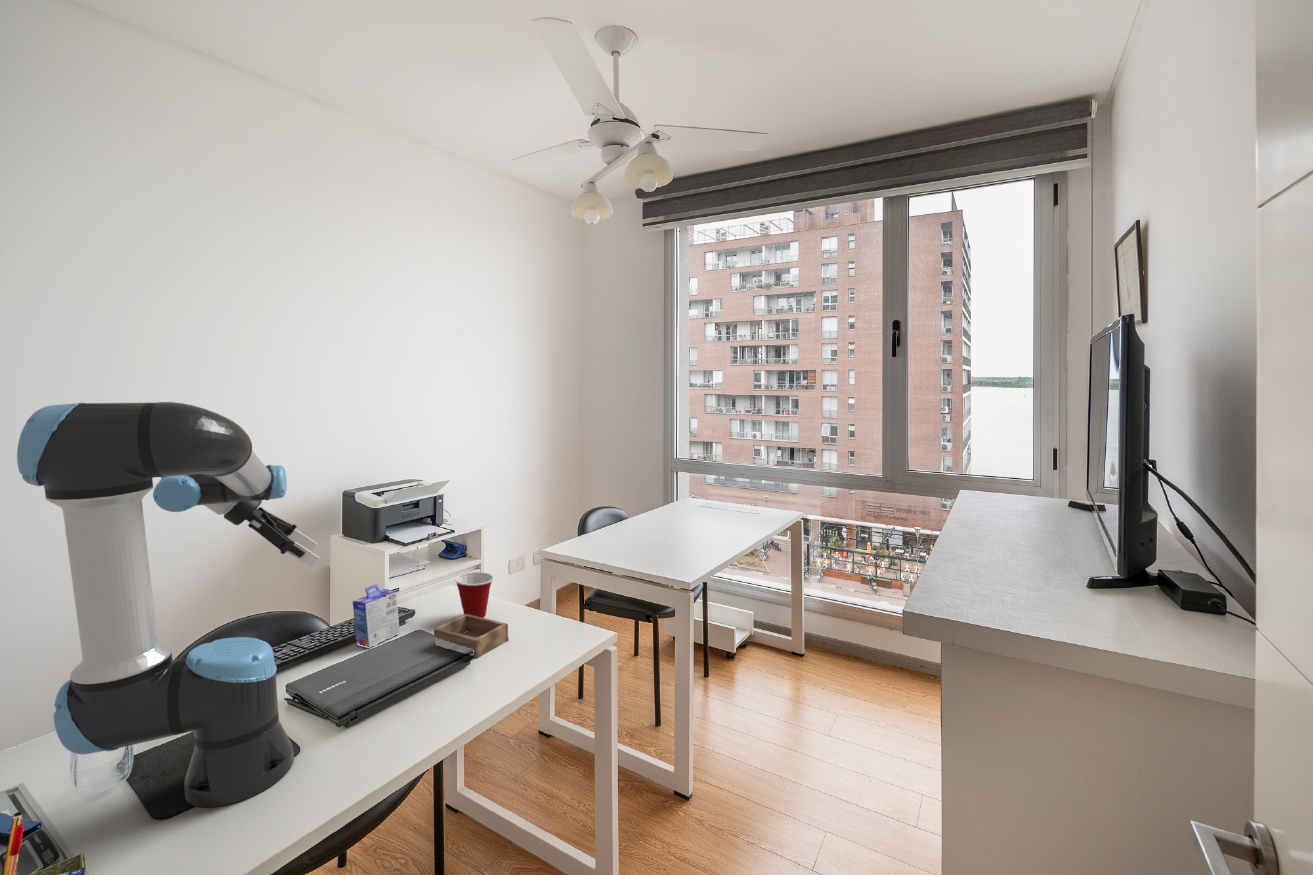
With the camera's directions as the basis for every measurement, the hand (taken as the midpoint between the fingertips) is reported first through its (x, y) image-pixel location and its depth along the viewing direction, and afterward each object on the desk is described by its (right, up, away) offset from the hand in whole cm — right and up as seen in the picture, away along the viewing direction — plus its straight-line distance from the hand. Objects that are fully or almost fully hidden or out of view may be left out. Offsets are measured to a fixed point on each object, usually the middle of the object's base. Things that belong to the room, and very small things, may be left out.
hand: (314, 555), depth 141 cm
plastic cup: (+33, -23, +24) cm, 47 cm away
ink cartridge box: (+12, -25, +9) cm, 29 cm away
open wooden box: (+37, -24, +6) cm, 45 cm away
